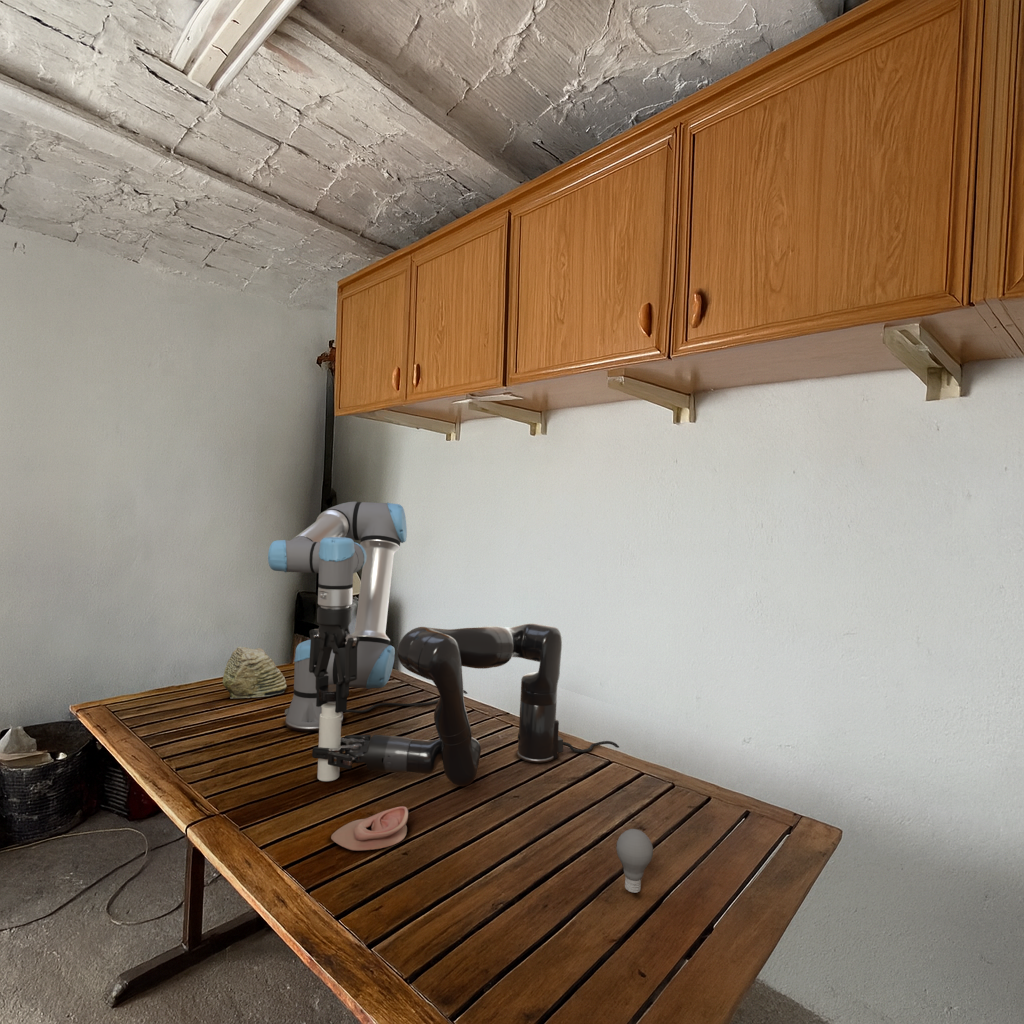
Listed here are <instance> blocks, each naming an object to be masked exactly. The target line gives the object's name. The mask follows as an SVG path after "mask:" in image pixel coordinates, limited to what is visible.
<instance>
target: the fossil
mask: <svg viewBox="0 0 1024 1024" xmlns="http://www.w3.org/2000/svg"><path fill="white" fill-rule="evenodd" d="M222 676H223V677H222V685H223V687H224V688H225V690H226V691H228V693H229V698H230V699H250V698H264V697H271V696H275V695H281V694H284V693H285V691H286V689H287V687H288V686H287V680H286V678H285V676H284V674H283V673H282V672H281V669H279V668H278V667H277V665H276V663H275V662H274V660H273V659H272V658H271V657H270V656H269V655H268V654H267V653H266V652H265V650H264V649H263V648H260V647H258V648H251V647H247V646H246V647H245V646H238V647H237V648H236V649H235V650H233V651H232V653H231V656H230V657H229V659H228V660H227V663H226V666H225V668H224V671H223V675H222Z"/></svg>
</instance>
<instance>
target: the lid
mask: <svg viewBox="0 0 1024 1024" xmlns="http://www.w3.org/2000/svg"><path fill="white" fill-rule="evenodd" d="M319 699H320V700H321V701H325V702H336V684H330V685H324V686H322V687H320V689H319Z"/></svg>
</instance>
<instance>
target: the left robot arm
mask: <svg viewBox="0 0 1024 1024" xmlns="http://www.w3.org/2000/svg"><path fill="white" fill-rule="evenodd" d="M406 518H407V517H406V513H405V509H404V506H403V505H401V504H400V503H391V502H370V501H369V502H368V501H348V502H343V503H339V504H337V505H334V506H331V507H329V508H326V509H325V510H323V511H322V512H321V513H319V515H318V516H317V518H316V520H315V522H313V523H312V524H311V525H309V526H308V527H307V528H305V529H304V530H302V531H301V532H300V533H298V534H297V535H296V536H294V537H293V538H292V539H290V540H287V539H276V540H274V541H272V542H271V543H270V545H269V548H268V553H267V562H268V566H269V568H270V569H271V571H272V570H273V571H276V572H283V573H304V574H305V573H306V574H307V573H308V574H312V573H313V574H318V585H317V586H318V589H317V604H318V607H317V609H316V612H317V614H316V623H317V624H318V625H319V626H318V628H314V629H310V630H309V632H308V633H309V638H310V639H307V640H304V641H302V642H300V643H298V644H297V645H296V648H295V655H294V660H293V662H294V672H293V695H292V696H293V697H292V699H291V702H290V704H289V707H288V708H286V709H284V716H285V726H286V728H287V729H289V730H291V731H294V732H295V731H296V732H301V733H316V732H318V733H319V721H320V714H321V713H322V707H321V706H322V705H323V704H326V703H336V705H335V712H336V713H339V712H340V713H342V719H341V724H342V723H343V722H344V714H343V713H355V714H364V713H367V712H369V711H371V710H373V709H375V708H377V707H382V706H392V707H394V706H395V707H420V706H428V705H434V704H437V703H438V701H439V699H440V697H439V698H438V699H436V700H432V701H427V702H415V703H413V702H411V703H402V702H401V703H397V702H381V703H376V704H373V705H371V706H369V707H368V708H366V709H359V710H358V709H348V697H349V695H350V688H355V689H357V688H358V689H368V690H370V689H381V688H384V687H385V686H386V685H387V684H388V682H389V680H390V677H391V675H392V671H393V668H394V663H395V653H396V650H395V647H394V646H392V645H391V639H390V638H389V636H388V635H387V634H386V632H387V631H386V630H387V622H388V613H389V612H388V611H389V604H390V603H389V602H390V595H391V585H392V575H393V566H394V557H395V553H396V552H398V551H399V550H400V548H401V544H404V543H406V541H407V535H408V532H407V530H408V528H407V519H406ZM356 541H360V543H358V542H356ZM361 570H362V571H361ZM359 571H361V577H360V585H359V593H358V601H357V608H356V617H355V625H354V626H355V627H354V631H353V632H352V633H351V632H350V628H349V627H350V624H351V623H352V620H353V607H352V605H353V589H354V574H356V573H358V572H359ZM330 684H336V702H325V701H321V700H320V699H319V689H320V687H322V686H324V685H330ZM463 692H464V695H467V694H468V692H467V691H466V690H465V689H463Z"/></svg>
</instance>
